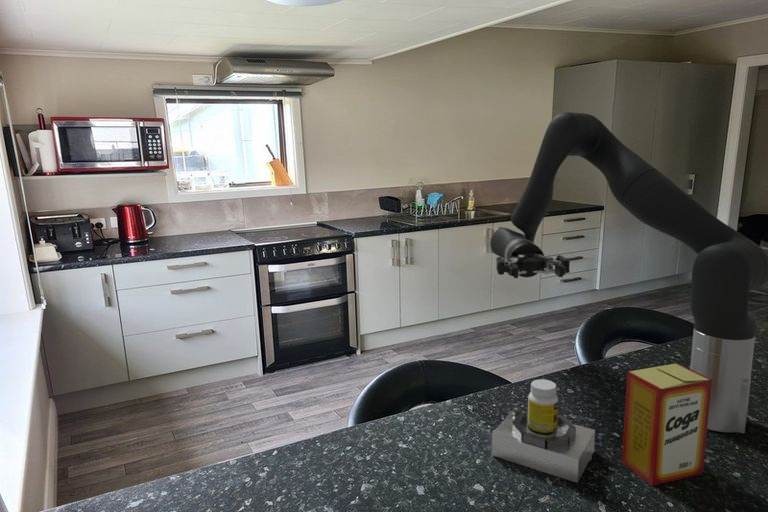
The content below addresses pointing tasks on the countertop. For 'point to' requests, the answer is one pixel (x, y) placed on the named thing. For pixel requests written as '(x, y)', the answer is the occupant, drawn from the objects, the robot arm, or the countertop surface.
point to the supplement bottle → (542, 409)
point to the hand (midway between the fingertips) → (538, 272)
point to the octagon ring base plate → (544, 446)
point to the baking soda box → (666, 423)
